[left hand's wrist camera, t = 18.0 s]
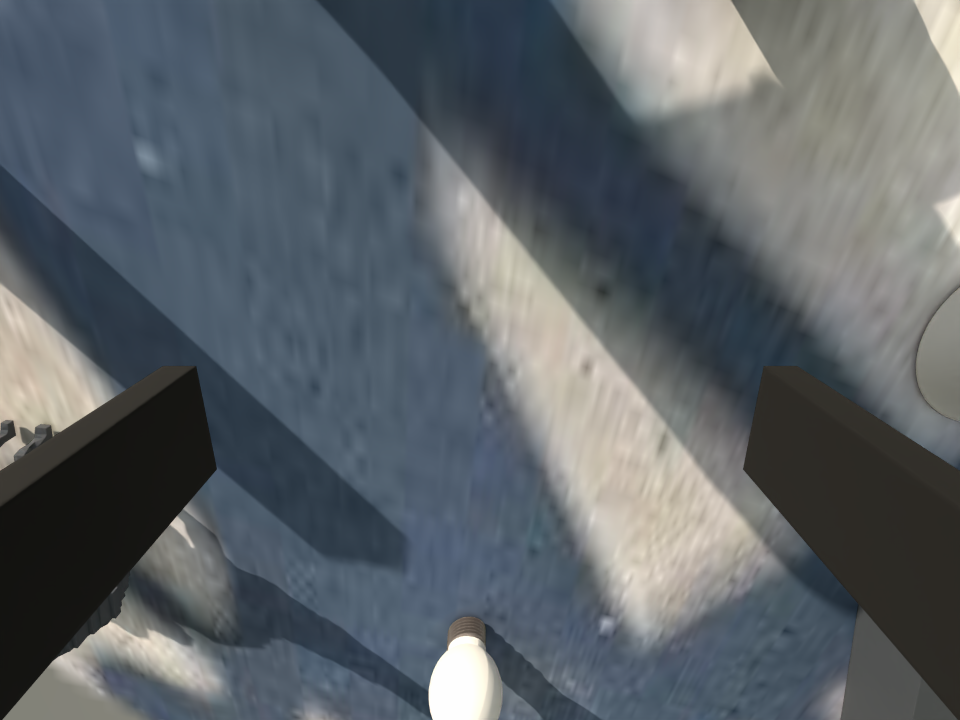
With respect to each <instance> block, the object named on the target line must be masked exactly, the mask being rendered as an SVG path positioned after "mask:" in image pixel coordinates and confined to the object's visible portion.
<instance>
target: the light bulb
mask: <svg viewBox="0 0 960 720" xmlns="http://www.w3.org/2000/svg"><path fill="white" fill-rule="evenodd" d="M485 630H486V628H485V625H484V623H483V622H482V621H481V620H479V619H478V618H475V617H464V618H461V619H458V620H457V621H455V622H454V623H453V624H452V625H451V626H450V628H449V630H448V641H447V652H446V653H445V654H444V655H443V656H442V657H441V658H440V660H439V661H438V663H437V664H436V666H435V669H434V671H433V674H432V677H431V682H430V687H429V706H430V712H431V715H432V718H433V720H498V718H499V715H500V711H501V706H502V695H503V692H502V681H501V677H500V674H499V671H498V668H497V666H496V664H495V662H494V660H493V659H492V657H491V656H490V655H489V654H488V653H487V652H486V648H485V647H486V634H485V633H486V631H485Z"/></svg>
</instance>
